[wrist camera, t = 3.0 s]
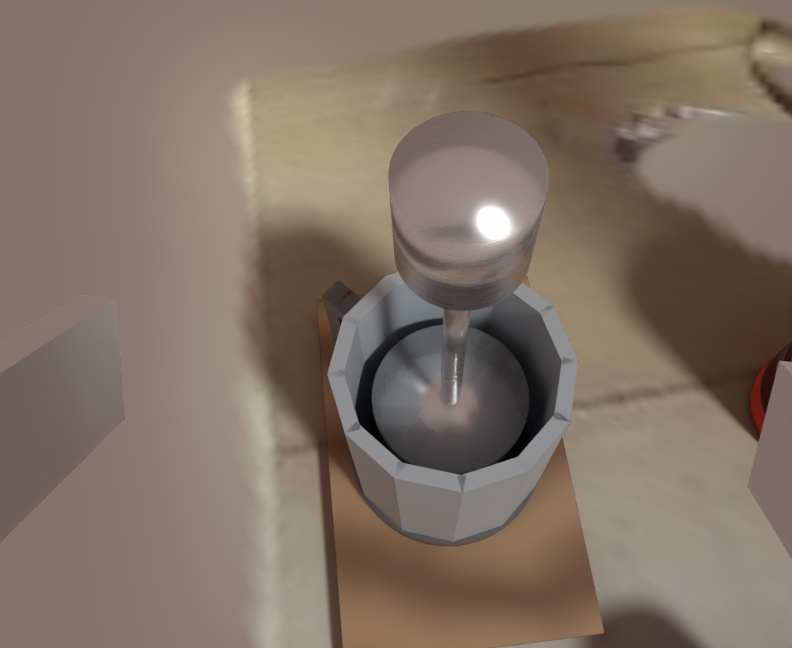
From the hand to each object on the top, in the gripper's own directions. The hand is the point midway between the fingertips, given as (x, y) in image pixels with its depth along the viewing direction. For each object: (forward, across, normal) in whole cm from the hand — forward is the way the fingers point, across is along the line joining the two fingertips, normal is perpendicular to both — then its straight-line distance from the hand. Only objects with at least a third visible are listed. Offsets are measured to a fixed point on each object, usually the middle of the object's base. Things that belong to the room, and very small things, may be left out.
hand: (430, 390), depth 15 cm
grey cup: (+27, +1, +15) cm, 31 cm away
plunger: (+20, 0, +10) cm, 22 cm away
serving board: (+27, 0, +17) cm, 32 cm away
